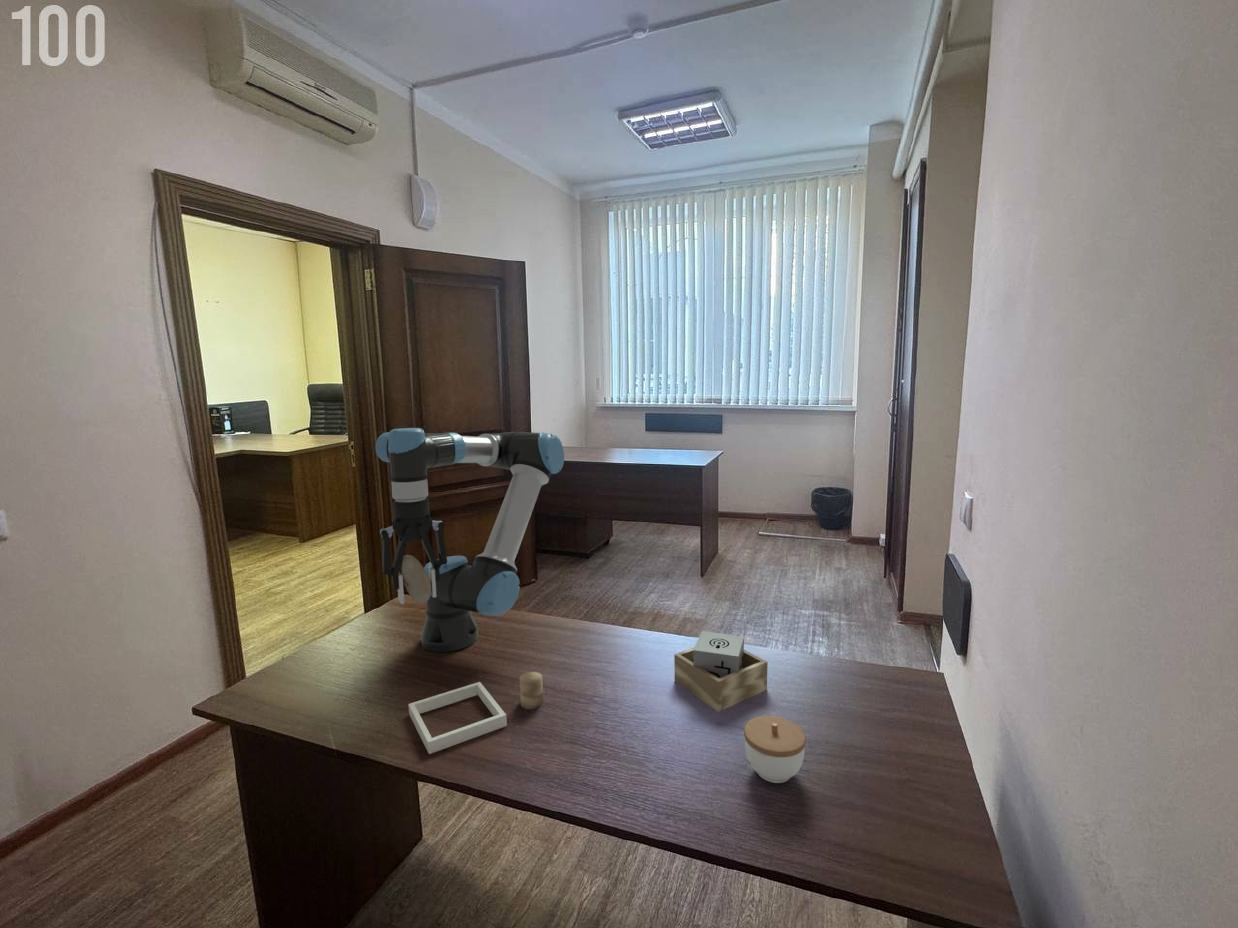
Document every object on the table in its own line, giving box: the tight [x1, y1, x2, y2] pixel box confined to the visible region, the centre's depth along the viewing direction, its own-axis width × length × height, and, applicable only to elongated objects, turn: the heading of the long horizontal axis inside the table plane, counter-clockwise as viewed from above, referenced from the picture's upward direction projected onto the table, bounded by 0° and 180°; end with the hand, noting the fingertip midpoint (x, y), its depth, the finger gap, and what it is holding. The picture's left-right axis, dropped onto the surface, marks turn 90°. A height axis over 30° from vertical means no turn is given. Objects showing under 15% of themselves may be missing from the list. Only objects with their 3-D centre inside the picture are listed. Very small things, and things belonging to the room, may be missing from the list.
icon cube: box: [693, 630, 745, 678], centre depth 132 cm, size 10×10×10 cm
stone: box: [399, 554, 432, 604], centre depth 128 cm, size 6×6×12 cm
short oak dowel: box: [519, 671, 544, 710], centre depth 127 cm, size 5×5×6 cm
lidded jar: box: [743, 715, 807, 784], centre depth 103 cm, size 11×11×9 cm
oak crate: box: [673, 647, 769, 713], centre depth 132 cm, size 15×15×7 cm
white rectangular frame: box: [407, 681, 508, 755], centre depth 121 cm, size 16×16×2 cm
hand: (417, 598), depth 129 cm, fingers closed on stone, 6 cm apart
